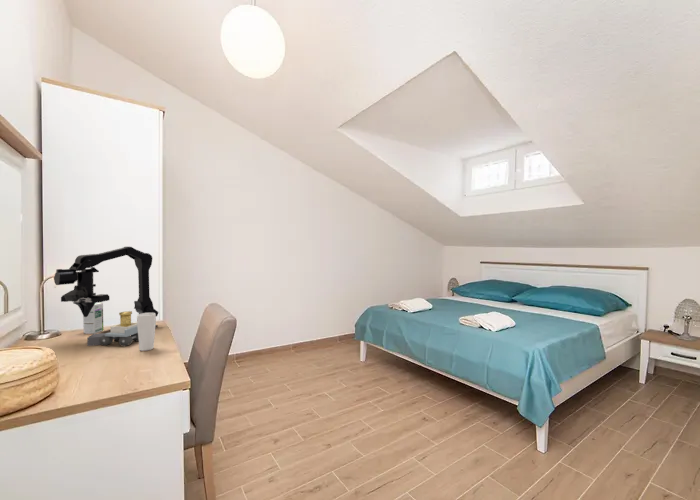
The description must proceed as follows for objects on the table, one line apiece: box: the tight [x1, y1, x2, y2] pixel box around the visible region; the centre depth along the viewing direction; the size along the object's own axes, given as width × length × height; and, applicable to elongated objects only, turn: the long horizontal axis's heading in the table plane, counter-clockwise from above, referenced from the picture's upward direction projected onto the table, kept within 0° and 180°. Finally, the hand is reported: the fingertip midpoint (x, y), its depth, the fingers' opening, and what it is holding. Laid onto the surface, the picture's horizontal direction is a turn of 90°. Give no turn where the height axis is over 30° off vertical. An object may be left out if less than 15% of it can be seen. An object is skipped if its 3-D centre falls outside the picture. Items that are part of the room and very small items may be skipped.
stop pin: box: [118, 310, 133, 327], centre depth 147 cm, size 5×5×8 cm
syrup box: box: [82, 302, 104, 335], centre depth 162 cm, size 6×6×14 cm
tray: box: [110, 322, 137, 333], centre depth 147 cm, size 8×8×3 cm
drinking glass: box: [136, 313, 157, 352], centre depth 137 cm, size 7×7×15 cm
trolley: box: [99, 326, 139, 347], centre depth 146 cm, size 10×13×7 cm
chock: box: [86, 333, 106, 347], centre depth 144 cm, size 6×5×4 cm
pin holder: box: [95, 329, 111, 334], centre depth 156 cm, size 8×8×2 cm
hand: (85, 316), depth 147 cm, fingers closed
